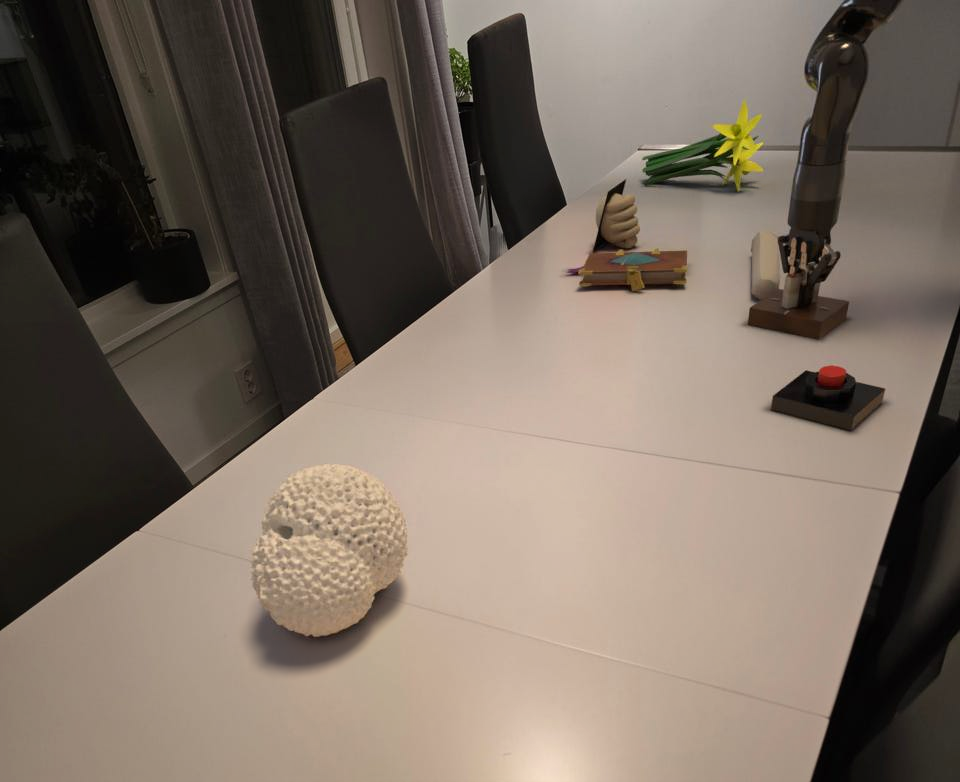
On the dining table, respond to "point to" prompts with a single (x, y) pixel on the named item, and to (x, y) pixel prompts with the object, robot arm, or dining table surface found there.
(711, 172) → the daffodil flowers
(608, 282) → the book
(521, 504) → the dining table surface
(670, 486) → the dining table surface
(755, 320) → the knob panel
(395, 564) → the cream bumpy rounded lump
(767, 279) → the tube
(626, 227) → the decorative object
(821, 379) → the button
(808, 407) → the button box
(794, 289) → the knob
